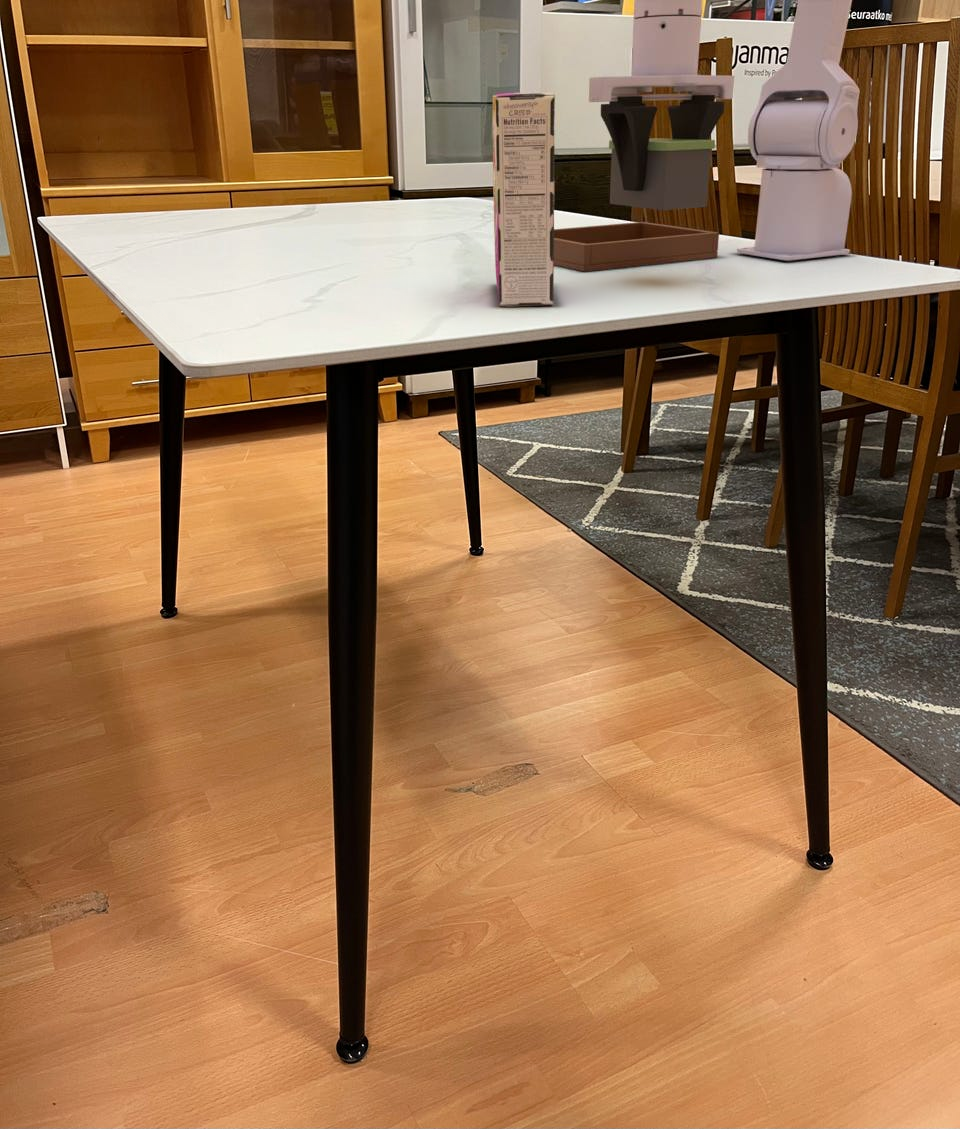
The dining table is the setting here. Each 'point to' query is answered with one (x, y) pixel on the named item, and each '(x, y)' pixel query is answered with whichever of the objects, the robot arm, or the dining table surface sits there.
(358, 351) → the dining table surface
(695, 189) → the container
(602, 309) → the dining table surface
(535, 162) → the candy bar box
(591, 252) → the tray
